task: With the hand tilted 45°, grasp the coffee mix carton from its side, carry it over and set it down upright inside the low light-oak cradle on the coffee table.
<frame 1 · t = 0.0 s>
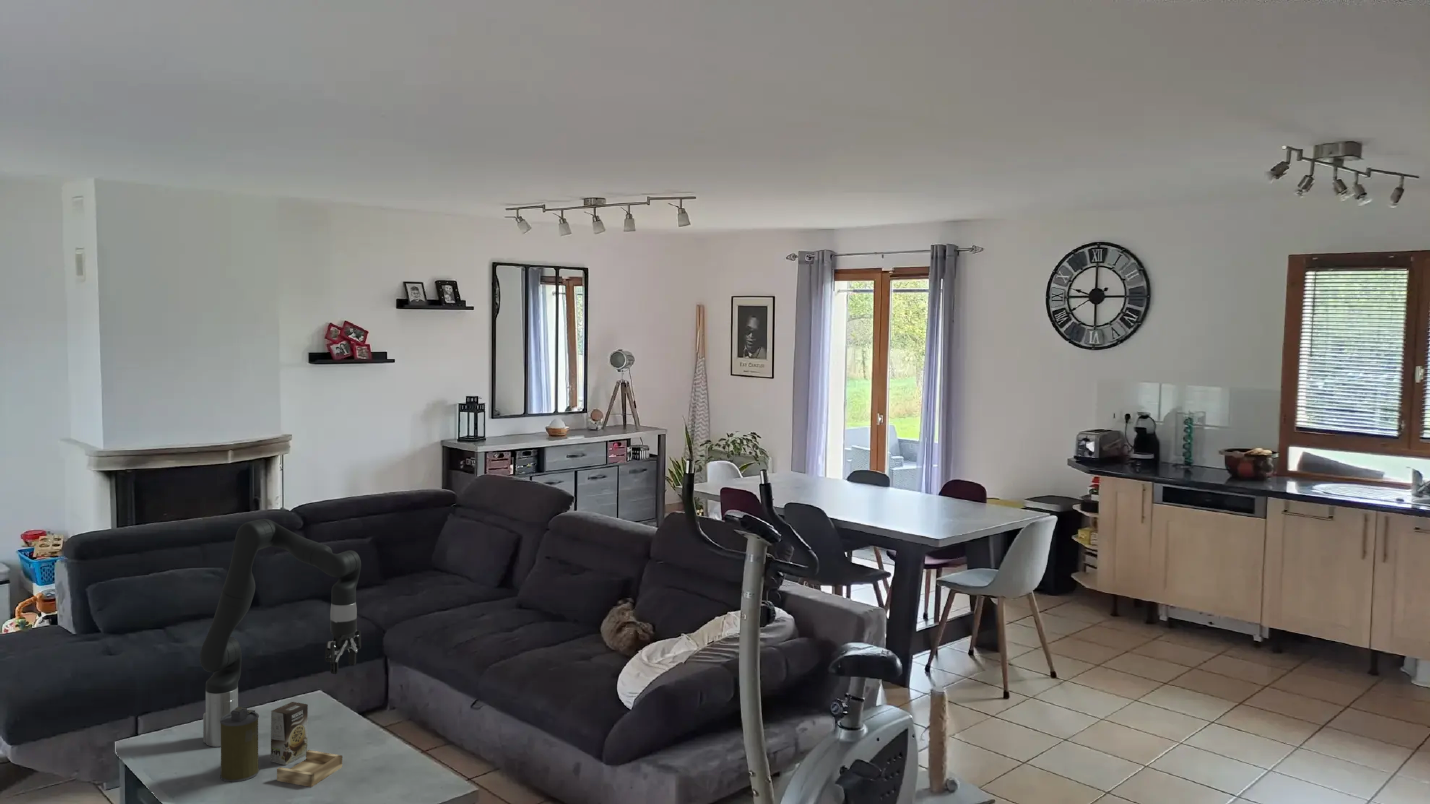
hand: (343, 669, 305), 29 cm above the table, tool pointing down, fingers open, 8 cm apart
oak cradle: (310, 773, 298), on the table
canister: (240, 774, 297), on the table
coffee box: (289, 758, 308), on the table
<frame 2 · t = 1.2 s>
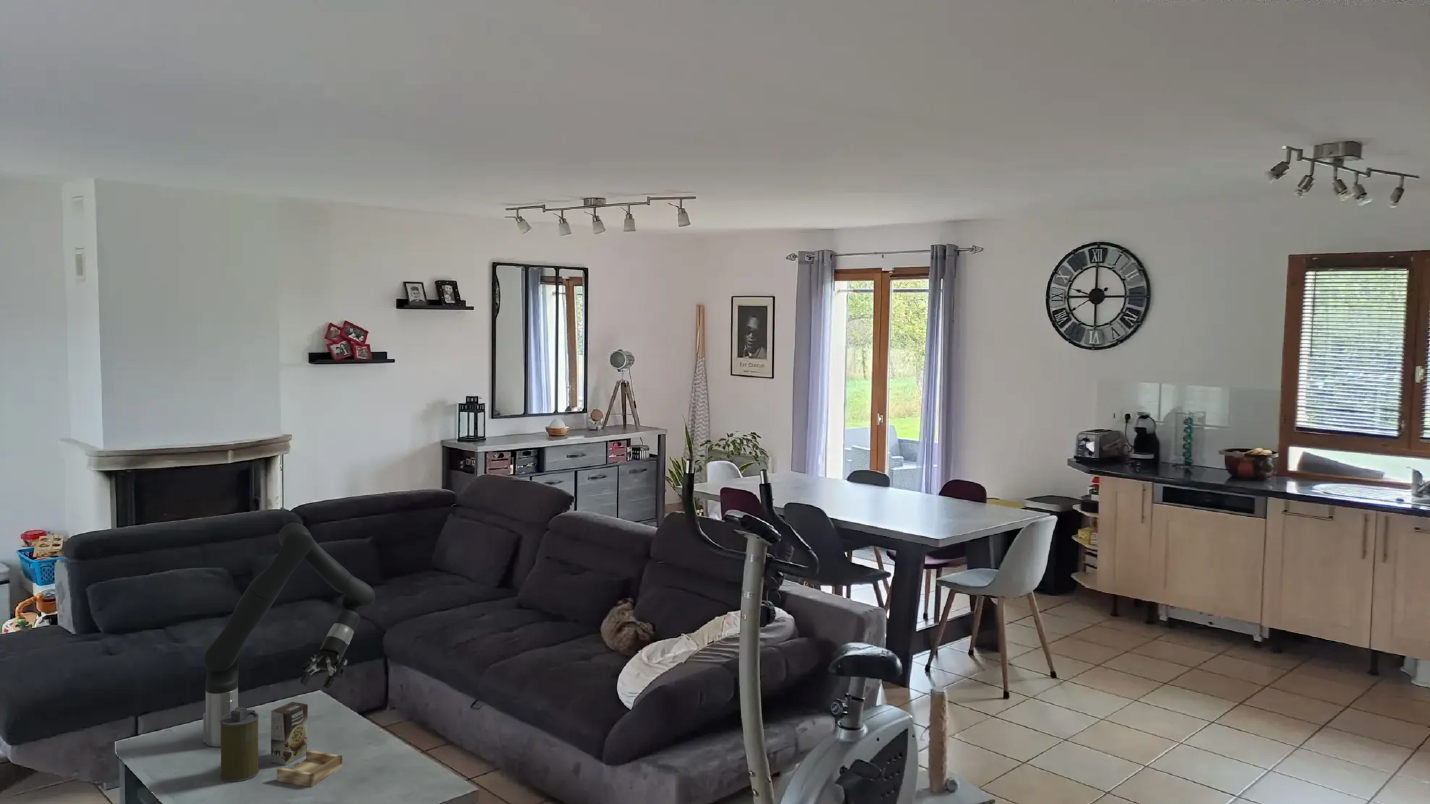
hand: (314, 686, 318), 19 cm above the table, tool tilted 45°, fingers open, 8 cm apart
nothing on the table moved.
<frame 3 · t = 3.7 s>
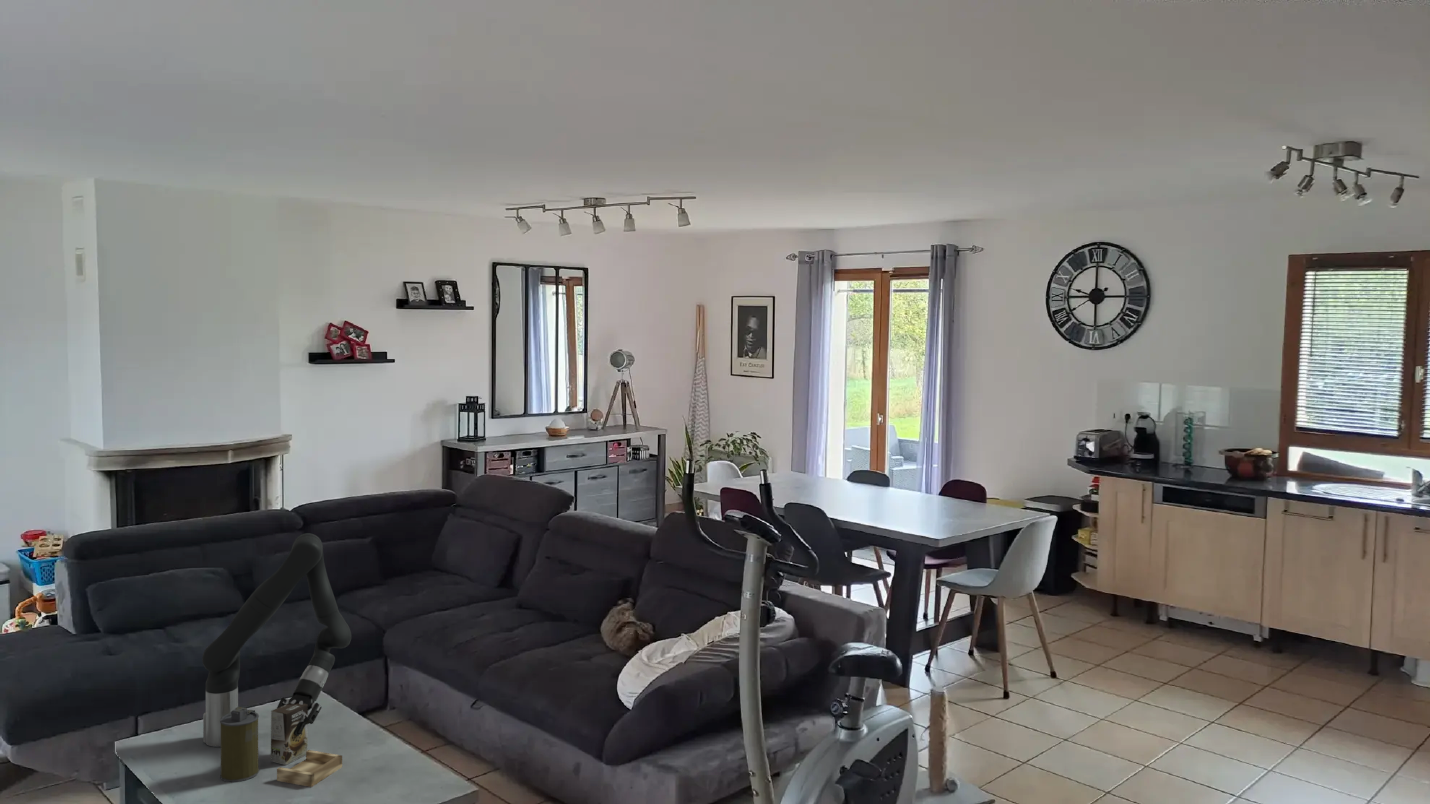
hand: (286, 733, 306), 8 cm above the table, tool tilted 45°, fingers closed on coffee box, 6 cm apart
coffee box: (289, 758, 308), on the table, touching gripper
everything else where it was.
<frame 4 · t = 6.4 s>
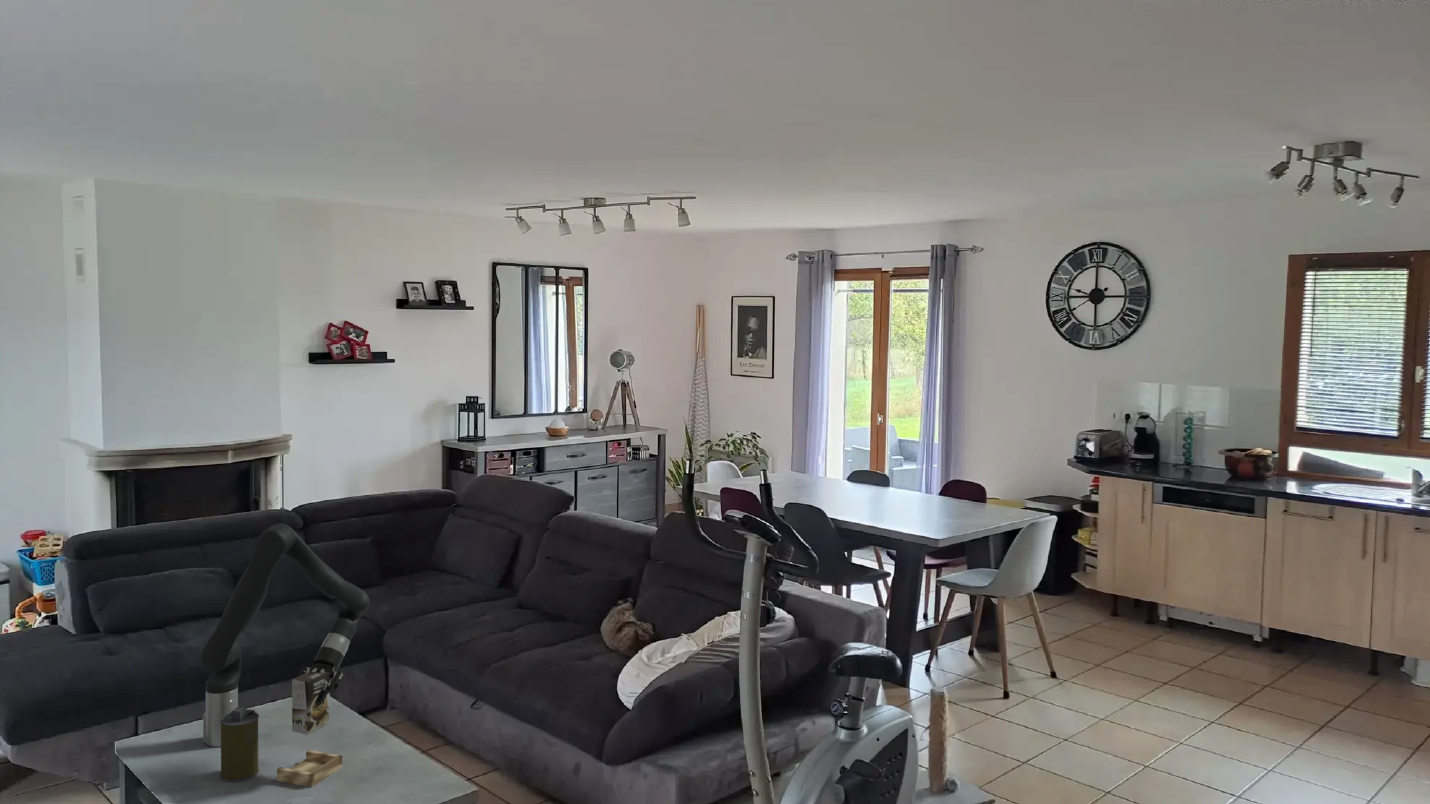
hand: (307, 702, 295), 22 cm above the table, tool tilted 45°, fingers closed on coffee box, 6 cm apart
coffee box: (311, 728, 297), point 14 cm above the table, touching gripper
everything else where it was.
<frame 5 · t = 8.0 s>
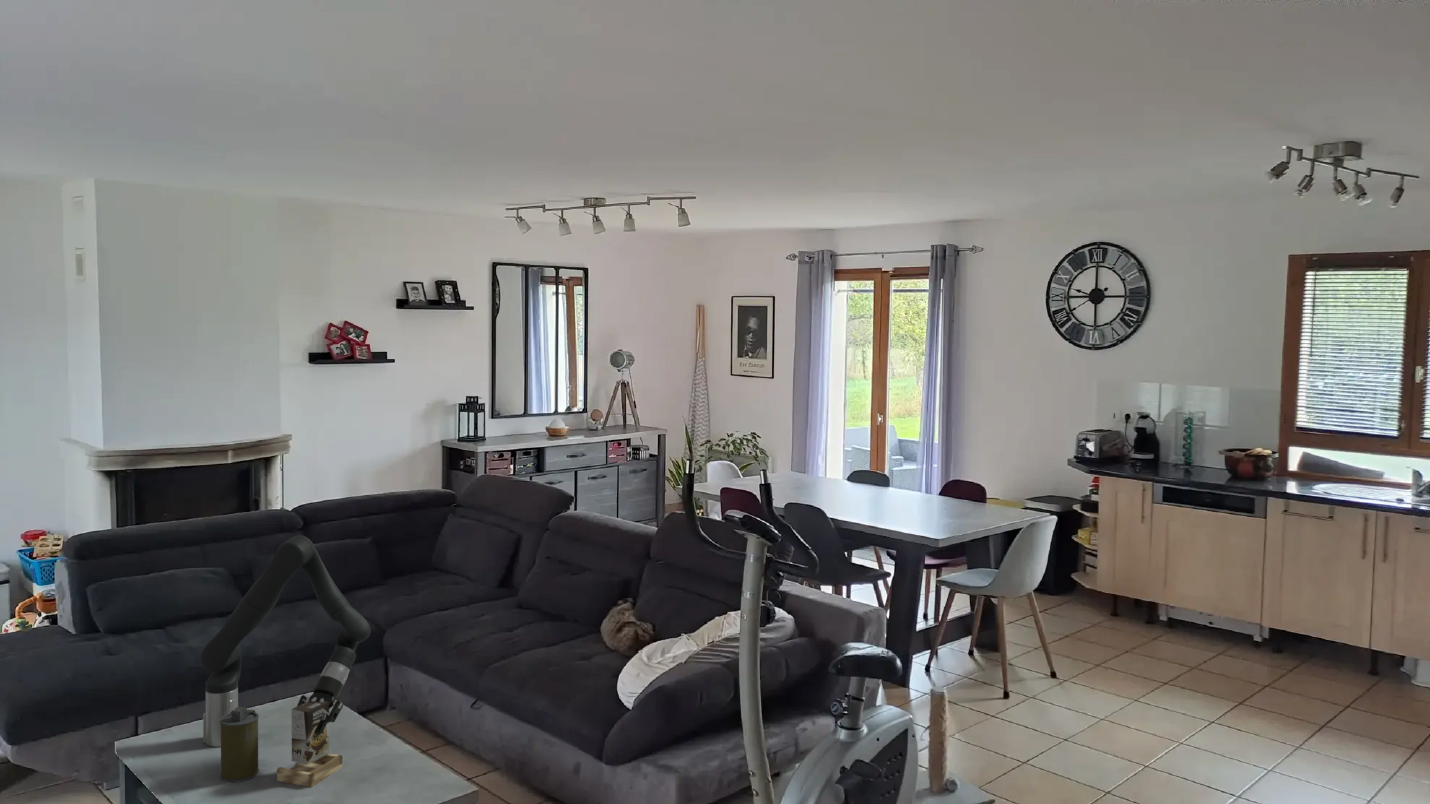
hand: (306, 732, 296), 13 cm above the table, tool tilted 45°, fingers closed on coffee box, 6 cm apart
coffee box: (310, 758, 298), point 5 cm above the table, touching gripper
everything else where it was.
when the fingers open (11 cm above the table, at t = 9.1 s): coffee box drops 2 cm, resting on oak cradle.
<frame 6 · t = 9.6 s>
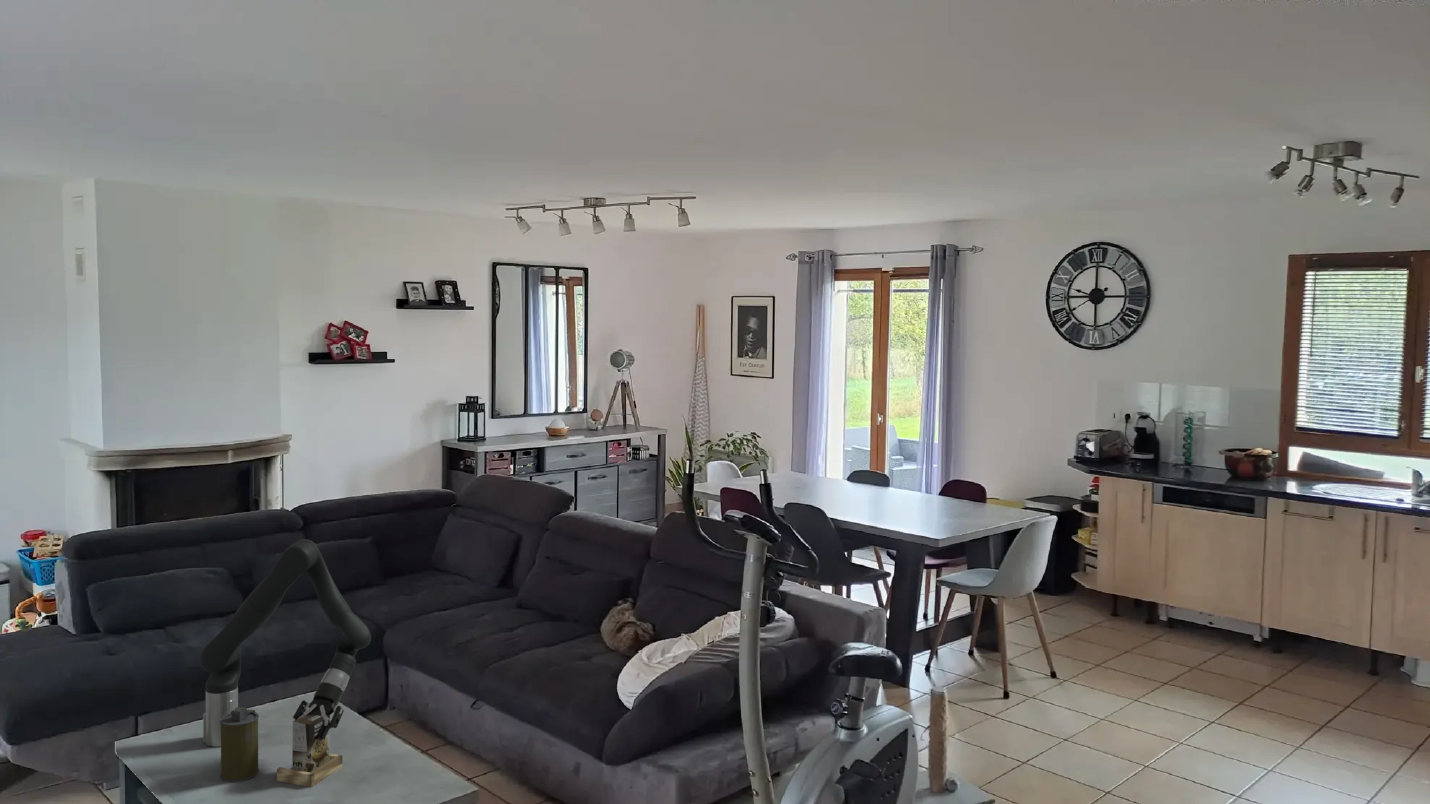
hand: (307, 737, 296), 12 cm above the table, tool tilted 45°, fingers open, 8 cm apart
coffee box: (311, 770, 298), point 1 cm above the table, touching oak cradle
everything else where it was.
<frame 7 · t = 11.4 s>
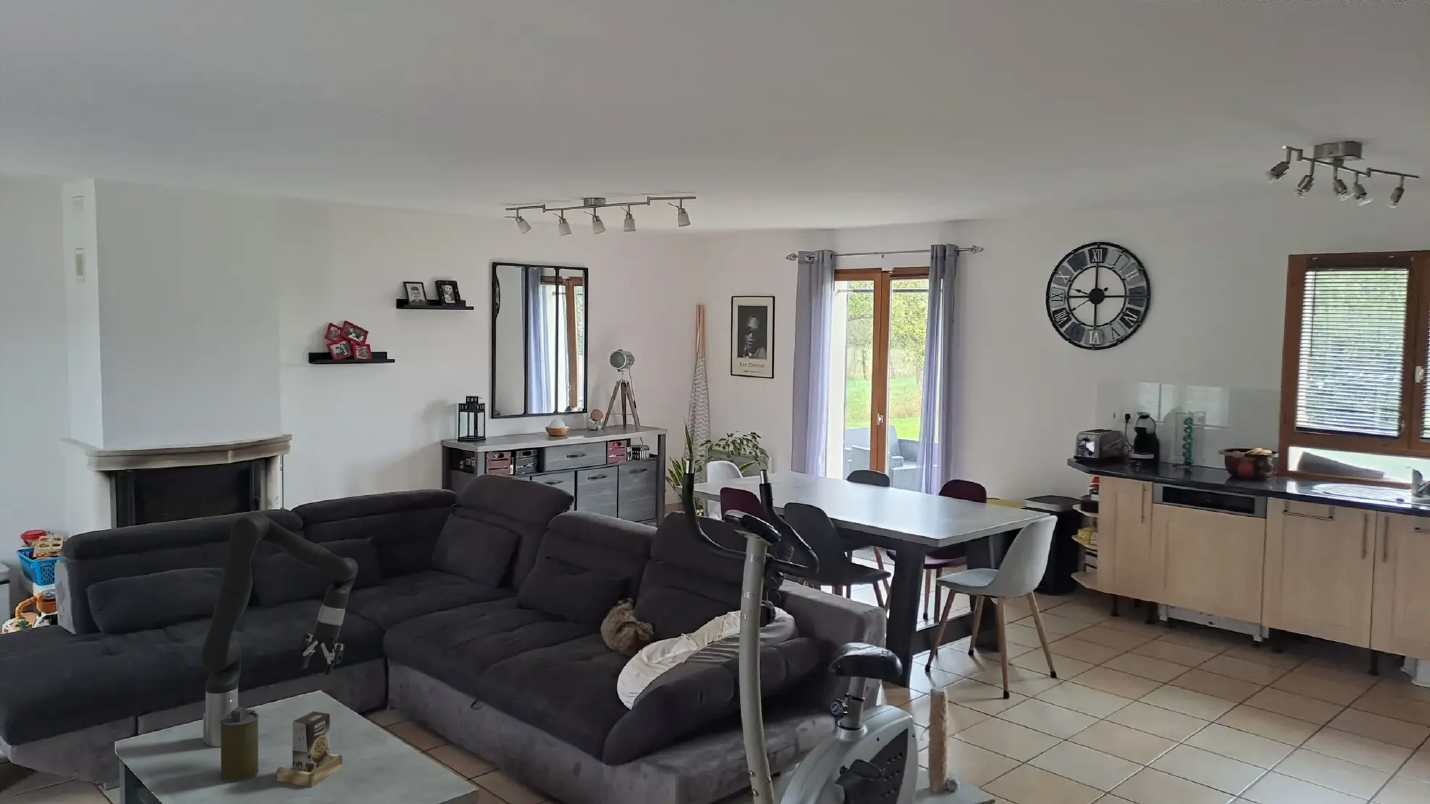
hand: (315, 671, 312), 25 cm above the table, tool tilted 15°, fingers open, 8 cm apart
nothing on the table moved.
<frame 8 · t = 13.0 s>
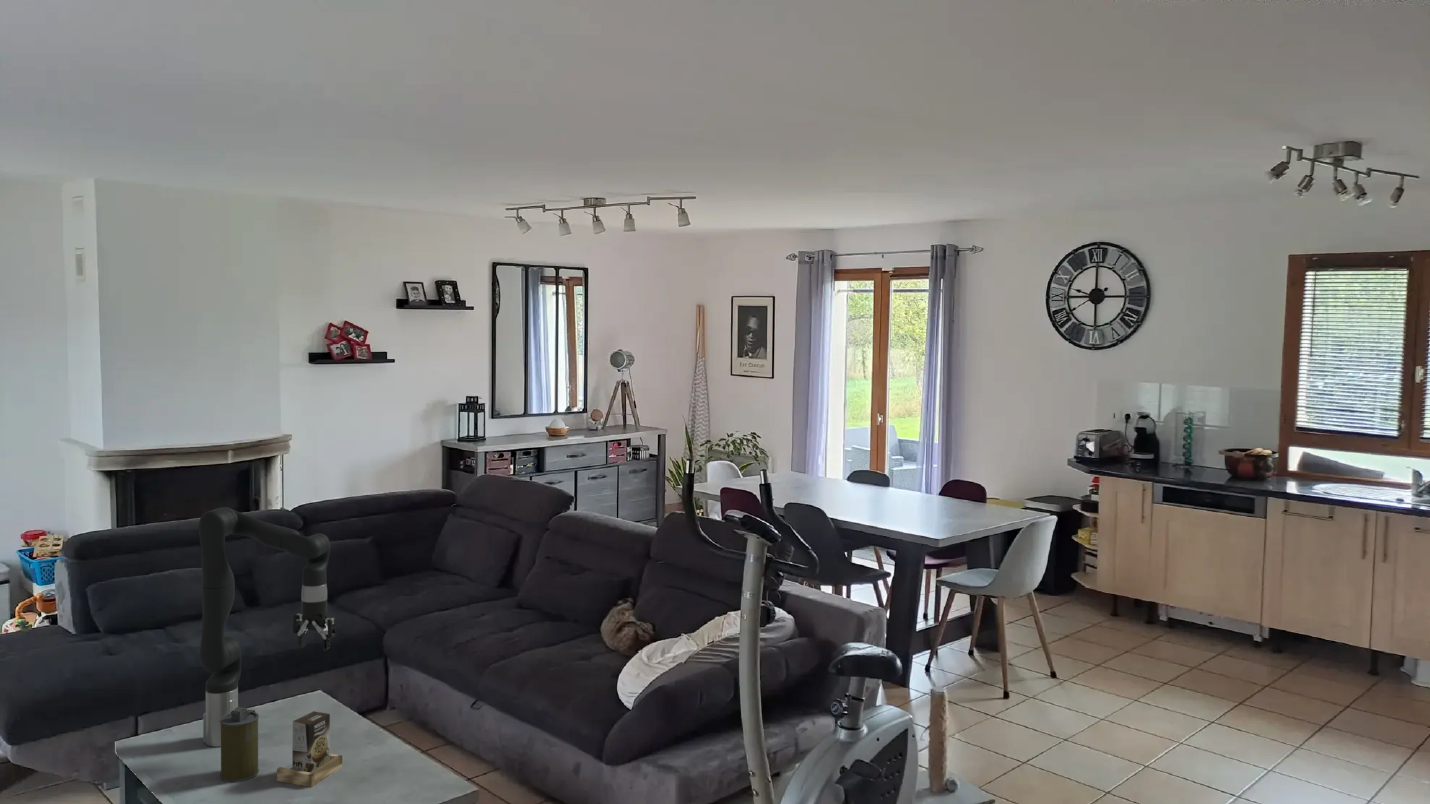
hand: (314, 648, 314), 32 cm above the table, tool pointing down, fingers open, 8 cm apart
nothing on the table moved.
at the end: coffee box inside the target area on the oak cradle (0.5 cm from its centre), point 1.0 cm above the oak cradle's base; coffee box tilted 0°; the gripper is holding nothing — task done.
